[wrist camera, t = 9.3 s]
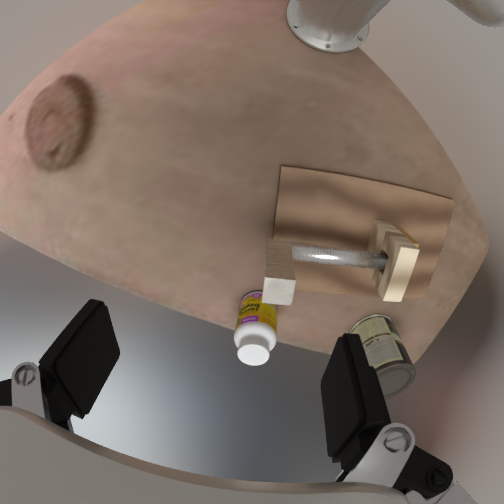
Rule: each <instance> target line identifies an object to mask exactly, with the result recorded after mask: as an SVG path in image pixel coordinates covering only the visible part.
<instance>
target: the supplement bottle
mask: <svg viewBox="0 0 504 504" xmlns="http://www.w3.org/2000/svg"><path fill="white" fill-rule="evenodd" d="M262 293H263V292H261V291H255V292H251V293H249V294H247V295H246V296H245V297H244V298H243V299H242V301H241V304H240V309H239V314H238V319H237V324H236V329H235V335H234V341H235V344H236V346H237V347H238V357H239V359H240V360H241V361H242V362H243V363H245V364H248V365H261V364H263V363H265V362H266V361H267V360H268V359H269V354H270V351H271V350H272V349H273V348H274V346H275V344H276V333H277V304H270V303H262Z"/></svg>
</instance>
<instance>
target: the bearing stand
mask: <svg viewBox="0 0 504 504" xmlns="http://www.w3.org/2000/svg"><path fill="white" fill-rule="evenodd" d="M454 204H455V201H454V200H452V199H450V198H447V197H443V196H440V195H436V194H432V193H428V192H425V191H421V190H417V189H413V188H408V187H404V186H400V185H396V184H391V183H386V182H382V181H377V180H372V179H367V178H362V177H357V176H351V175H345V174H340V173H334V172H327V171H321V170H314V169H307V168H300V167H292V166H284V165H281V171H280V180H279V189H278V198H277V207H276V215H275V223H274V232H273V238H274V239H283V240H291V242H297V243H306V244H314V245H323V246H331V247H340V248H348V249H357V250H365V251H373V252H381V253H386V254H387V255H388V256H389V257H388V260H387V264H386V267H385V270H379V269H369V268H359V267H350V266H340V265H331V264H321V263H312V262H302V261H293V262H294V269H295V277H296V283H295V288H294V290H302V291H313V292H324V293H336V294H348V295H362V296H376V297H381V298H382V300H383V301H393V302H401V300H402V298H409V299H423V297H424V295H425V293H426V290H427V288H428V285H429V283H430V280H431V278H432V275H433V272H434V270H435V267H436V264H437V261H438V258H439V255H440V252H441V249H442V246H443V243H444V240H445V237H446V233H447V230H448V227H449V223H450V219H451V216H452V212H453V208H454ZM395 226H397V227H401V228H402V229H403V230H404V231H405V232H406V233H408V234H409V235H410V236H411V237H412V238H413V239H414V240H415V241H416V242H417V243H418V244H419V247H418V248H417V247H416V246H415V245H414V244H413V243H412V242H411V241H410V240H409V239H408V238H407V237H406V236H405V235H404V234H403V233H402V232H401V231H399V230H398V229H397V228H396V227H395Z"/></svg>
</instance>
